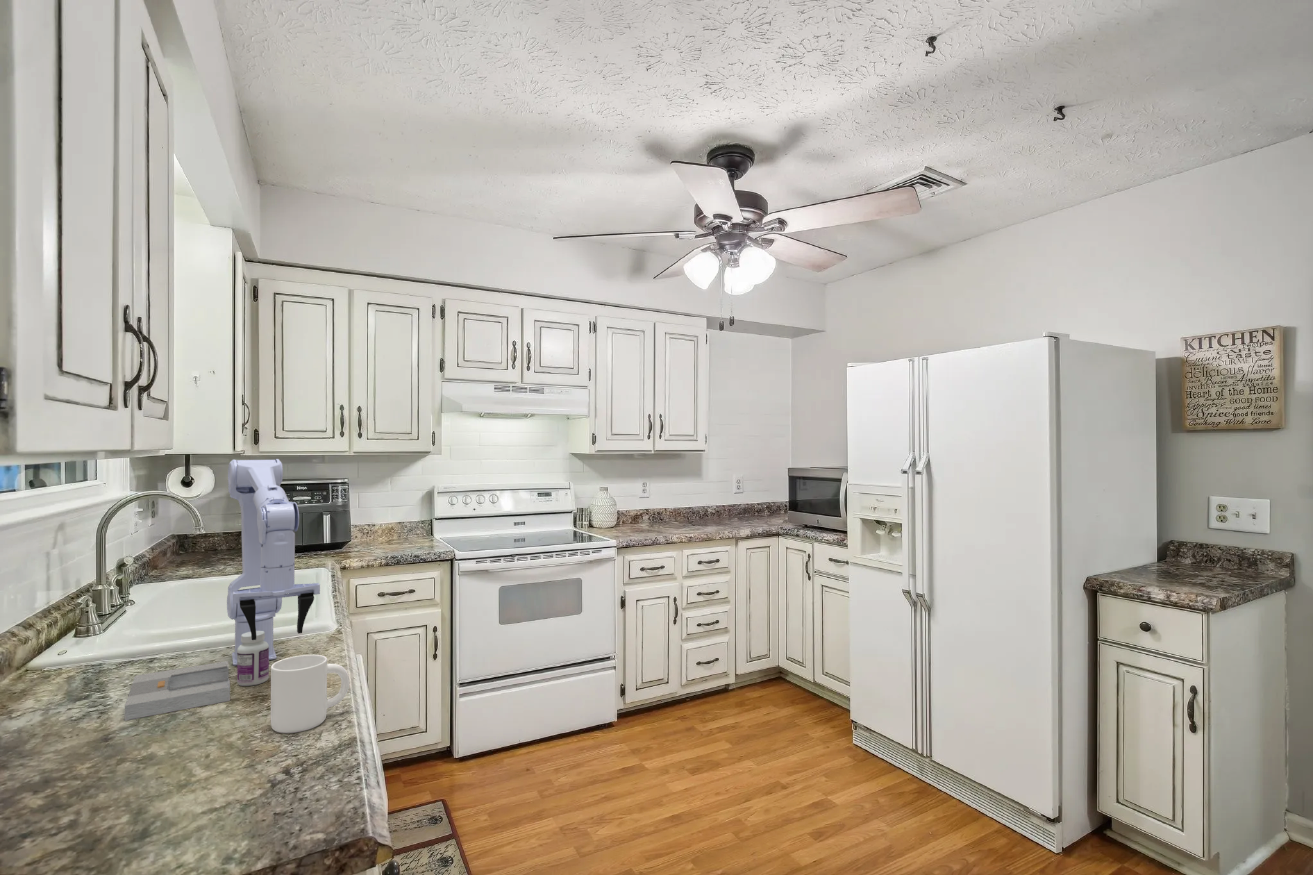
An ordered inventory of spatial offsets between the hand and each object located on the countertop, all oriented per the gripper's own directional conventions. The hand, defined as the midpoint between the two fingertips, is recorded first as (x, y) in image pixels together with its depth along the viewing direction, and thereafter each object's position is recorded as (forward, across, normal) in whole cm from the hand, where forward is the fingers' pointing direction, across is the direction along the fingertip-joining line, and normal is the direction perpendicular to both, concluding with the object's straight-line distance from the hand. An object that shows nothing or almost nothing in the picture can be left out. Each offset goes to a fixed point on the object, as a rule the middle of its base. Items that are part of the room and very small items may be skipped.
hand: (277, 635), depth 125 cm
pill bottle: (+10, -4, +6) cm, 13 cm away
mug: (+10, +4, -21) cm, 24 cm away
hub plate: (+10, -15, +6) cm, 19 cm away
